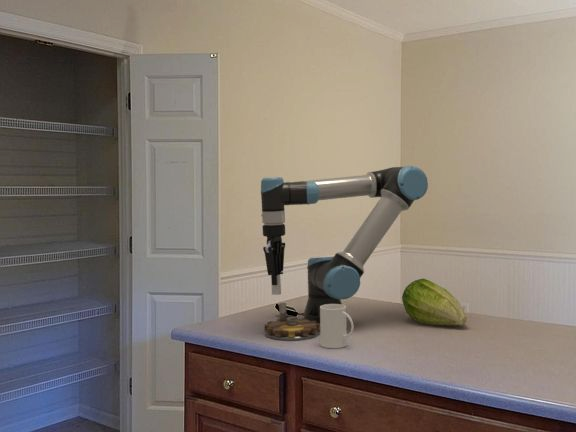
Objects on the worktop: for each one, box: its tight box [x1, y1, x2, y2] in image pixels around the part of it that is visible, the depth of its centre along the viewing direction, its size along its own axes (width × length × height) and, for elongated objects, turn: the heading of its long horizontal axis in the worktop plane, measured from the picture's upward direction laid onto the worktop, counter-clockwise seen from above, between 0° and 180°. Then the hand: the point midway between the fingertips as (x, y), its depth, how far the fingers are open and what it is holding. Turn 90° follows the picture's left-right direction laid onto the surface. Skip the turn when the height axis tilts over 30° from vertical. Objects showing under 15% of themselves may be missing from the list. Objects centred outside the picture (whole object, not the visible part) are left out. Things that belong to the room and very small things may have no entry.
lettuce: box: [401, 278, 468, 326], centre depth 206 cm, size 15×25×16 cm
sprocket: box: [264, 302, 320, 337], centre depth 197 cm, size 18×18×8 cm
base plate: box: [264, 330, 320, 342], centre depth 197 cm, size 19×19×1 cm
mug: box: [319, 304, 354, 349], centre depth 181 cm, size 12×8×12 cm
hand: (276, 294), depth 196 cm, fingers closed
